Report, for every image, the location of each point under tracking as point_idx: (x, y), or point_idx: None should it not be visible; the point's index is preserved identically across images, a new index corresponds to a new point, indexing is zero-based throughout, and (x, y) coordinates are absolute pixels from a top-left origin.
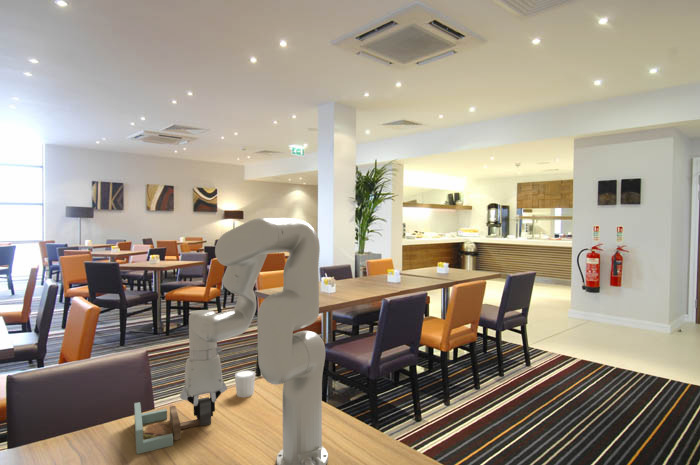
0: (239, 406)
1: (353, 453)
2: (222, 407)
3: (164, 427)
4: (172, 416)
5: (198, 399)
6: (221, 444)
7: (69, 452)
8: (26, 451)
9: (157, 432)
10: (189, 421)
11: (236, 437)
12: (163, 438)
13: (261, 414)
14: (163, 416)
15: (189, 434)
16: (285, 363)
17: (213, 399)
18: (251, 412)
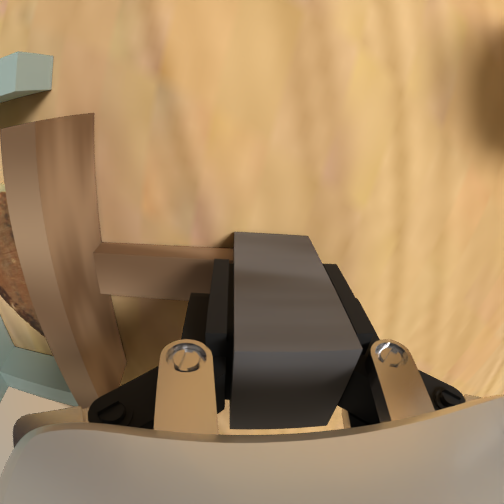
0: (494, 178)
1: None
2: (435, 118)
3: None
4: (41, 325)
5: (237, 361)
6: (270, 434)
7: None
8: None
9: (18, 296)
10: (166, 266)
11: (330, 420)
12: (62, 401)
13: (489, 312)
14: (21, 93)
15: (165, 345)
16: None
17: (359, 415)
18: (485, 278)
